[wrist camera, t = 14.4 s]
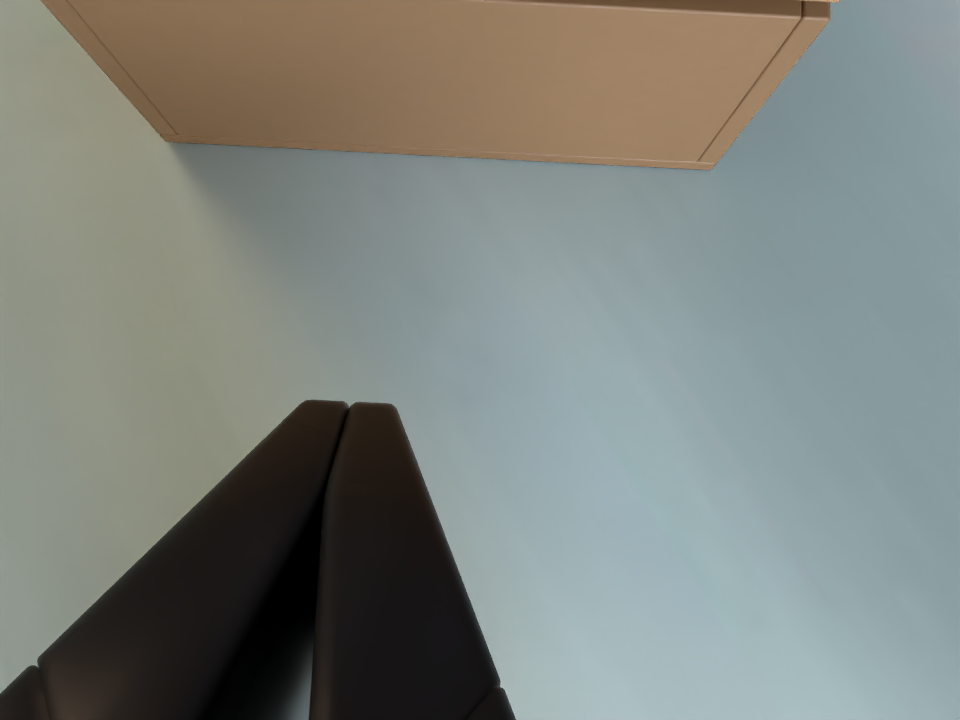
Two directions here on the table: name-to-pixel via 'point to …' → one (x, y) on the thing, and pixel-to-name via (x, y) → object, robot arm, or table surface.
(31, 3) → the table surface
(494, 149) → the carton
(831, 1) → the flap
